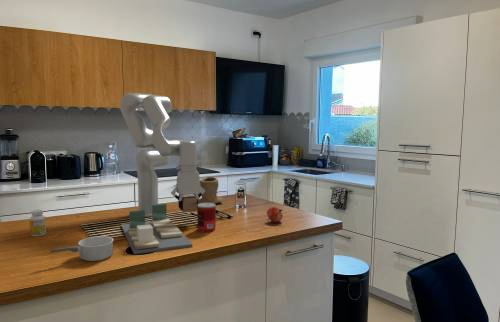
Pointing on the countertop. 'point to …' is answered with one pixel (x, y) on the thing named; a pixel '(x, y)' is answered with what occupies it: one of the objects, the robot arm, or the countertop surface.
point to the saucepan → (92, 248)
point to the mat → (163, 242)
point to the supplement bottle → (37, 223)
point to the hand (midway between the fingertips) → (188, 208)
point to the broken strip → (136, 220)
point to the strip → (163, 222)
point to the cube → (189, 203)
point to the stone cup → (210, 190)
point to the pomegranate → (274, 214)
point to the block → (144, 233)
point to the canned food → (206, 217)
